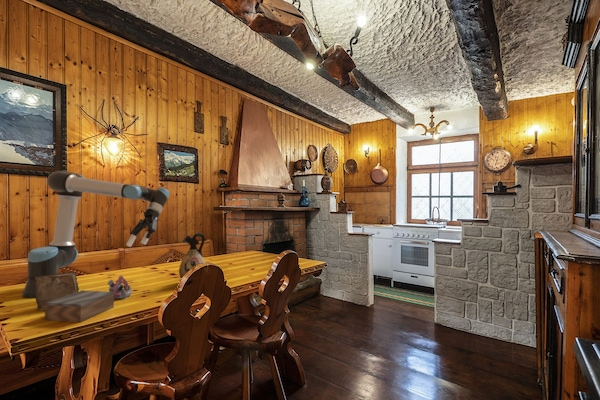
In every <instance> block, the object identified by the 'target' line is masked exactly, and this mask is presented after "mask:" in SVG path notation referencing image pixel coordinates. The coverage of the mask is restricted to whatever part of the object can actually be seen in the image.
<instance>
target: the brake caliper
mask: <svg viewBox="0 0 600 400" xmlns="http://www.w3.org/2000/svg"><path fill="white" fill-rule="evenodd" d="M107 285H108V286H109V287H108V292H114V301H115V300H116V301H117V300H126V299H127V298H129V297H130V296H131V295H132V293H133V291H132V288H131V285H129V283H128V281H127V280H126V278H124V276H123V275H121V274H120V275H119V276H118V278H117V280H116V282H114V280H113V279H109V280H108V281H107Z"/></svg>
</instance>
